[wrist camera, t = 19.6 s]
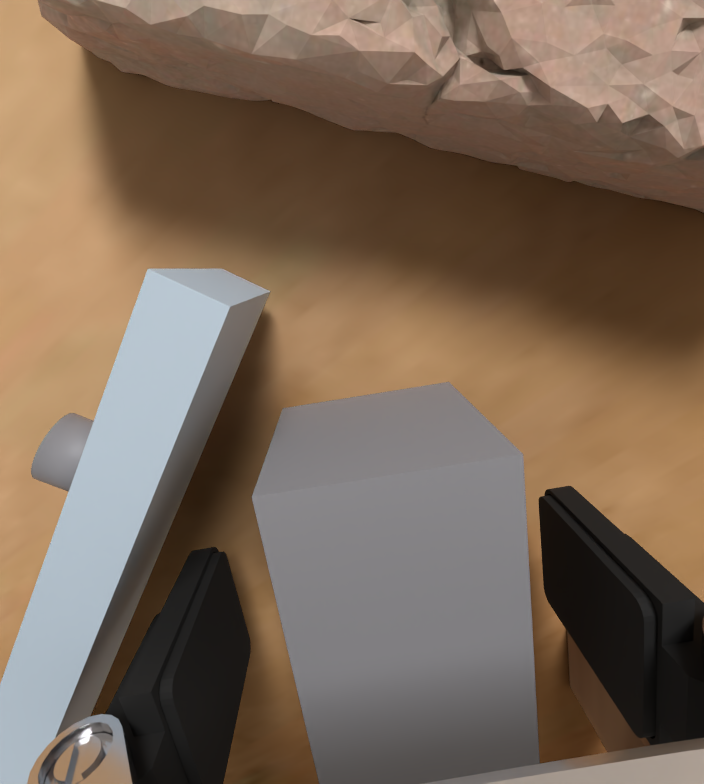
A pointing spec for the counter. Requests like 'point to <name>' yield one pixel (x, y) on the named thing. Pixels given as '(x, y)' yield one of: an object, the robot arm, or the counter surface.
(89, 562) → the door
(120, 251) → the counter surface
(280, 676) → the counter surface
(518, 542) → the block
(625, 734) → the block
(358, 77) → the brick
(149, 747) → the robot arm
